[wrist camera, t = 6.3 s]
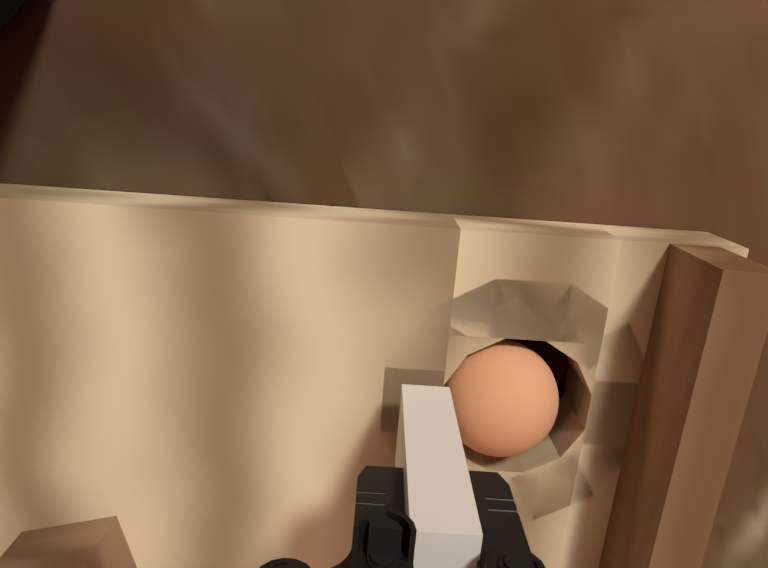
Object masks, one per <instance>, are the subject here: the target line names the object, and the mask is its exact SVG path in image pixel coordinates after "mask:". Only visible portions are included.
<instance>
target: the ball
mask: <svg viewBox="0 0 768 568" xmlns="http://www.w3.org/2000/svg"><path fill="white" fill-rule="evenodd" d="M443 387H450V391H451V396H452V400H453V405H454V409H455V414H456V418H457V422H458V427H459V431H460V436H461V440H462V443H464V444H465V445H466V446H468V447H469V448H471V449H473V450H474V451H476V452H479V453H482V454H484V455H488V456H494V457H510V456H515V455H519V454H522V453H524V452H527V451H529V450H531V449H532V448H534V447H535V446H537V445H538V444H539V443H540V442H541V441H542V440H543V439H544V438H545V437H546V436H547V435H548V433H549V432H550V430H551V428H552V427H553V425H554V422H555V419H556V416H557V413H558V407H559V394H558V388H557V384H556V381H555V378H554V376H553V373H552V371H551V370H550V368H549V366H548V365H547V364H546V362H545V361H544V360H543V359H542V358H541V357H540V356H539V355H538V354H537V353H536V352H535V351H533V350H532V349H530V348H528V347H527V346H525V345H523V344H521V343H518V342H515V341H511V340H505V339H503V340H501V341H498V342H496V343H494V344H492V345H489V346H487V347H485V348H482V349H480V350H478V351H476V352H473V353H471V354H469V355H467V356H466V357H465V359H464V360H463V361H462V363H461V364H460V365H459V366H458V368H457V369H456V370H455V372H454V373H453V374H452V375H451V377H450V378H449V379H448V381H447V382H446V383H445V384H444V386H443Z"/></svg>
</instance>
